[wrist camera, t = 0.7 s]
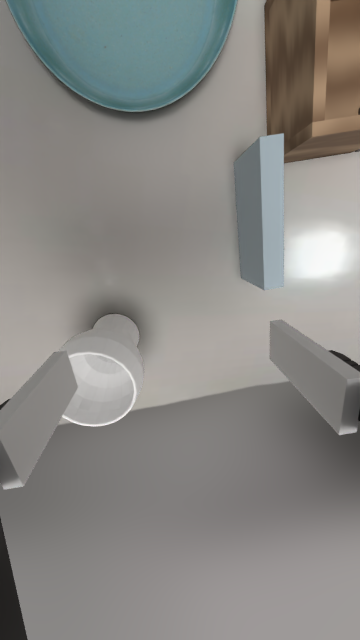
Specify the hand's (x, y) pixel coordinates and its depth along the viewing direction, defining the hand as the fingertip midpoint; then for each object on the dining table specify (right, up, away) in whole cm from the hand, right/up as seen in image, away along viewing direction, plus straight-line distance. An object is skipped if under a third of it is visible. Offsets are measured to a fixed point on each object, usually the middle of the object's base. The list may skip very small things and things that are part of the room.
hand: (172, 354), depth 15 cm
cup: (-10, 0, +24) cm, 26 cm away
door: (+10, +17, +20) cm, 28 cm away
